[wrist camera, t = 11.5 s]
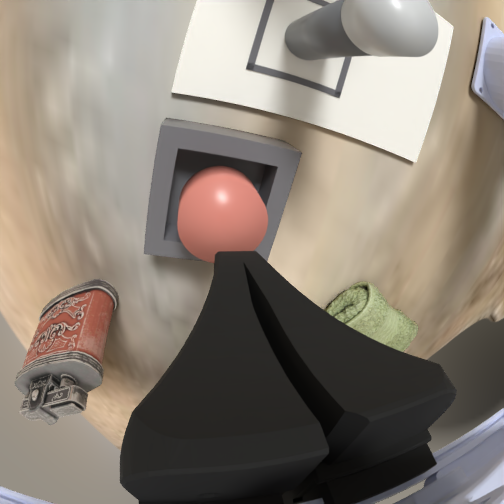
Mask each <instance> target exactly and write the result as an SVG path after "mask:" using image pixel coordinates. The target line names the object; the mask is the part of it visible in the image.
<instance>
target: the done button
mask: <svg viewBox="0 0 504 504" xmlns="http://www.w3.org/2000/svg"><path fill="white" fill-rule="evenodd" d="M267 226H268V214H267V210H266V207H265V204H264V203H263V201H262V199H261V197H260V196H259V194H258V192H257V190H256V189H255V187H254V185H253V184H252V182H251V181H250V179H249V178H248V177H247V176H246V175H245V174H243V173H242V172H240V171H239V170H237V169H234V168H231V167H227V166H213V167H208V168H205V169H203V170H200V171H199V172H197V173H195V174H194V175H193V176H192V177H191V178H190V179H189V180H188V181H187V182H186V183H185V185H184V187H183V188H182V191H181V193H180V197H179V208H178V221H177V227H178V234H179V237H180V239H181V241H182V243H183V245H184V246H185V248H186V249H187V250H188V251H189V252H190V253H191V254H193V255H194V256H196V257H197V258H199V259H202V260H204V261H207V262H212V263H214V260H215V254H216V253H217V252H218V251H254V250H255V249H256V248H257V247H258V246H259V244H260V243H261V241H262V240H263V238H264V236H265V234H266V231H267Z"/></svg>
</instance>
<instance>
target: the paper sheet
mask: <svg viewBox="0 0 504 504" xmlns="http://www.w3.org/2000/svg"><path fill="white" fill-rule="evenodd" d="M335 1H338V0H197V2H196V5H195V8H194V11H193V14H192V17H191V21H190V24H189V27H188V31H187V34H186V37H185V41H184V44H183V48H182V52H181V55H180V59H179V63H178V67H177V71H176V75H175V79H174V83H173V88H172V93H179V94H186V95H192V96H198V97H204V98H209V99H214V100H219V101H224V102H229V103H234V104H239V105H243V106H248V107H252V108H256V109H260V110H264V111H268V112H272V113H276V114H280V115H283V116H287V117H290V118H294V119H297V120H301V121H304V122H308V123H311V124H314V125H317V126H320V127H324V128H327V129H330V130H333V131H336V132H339V133H342V134H344V135H347V136H350V137H353V138H356V139H358V140H361V141H364V142H366V143H369V144H372V145H374V146H377V147H379V148H382V149H384V150H387V151H389V152H392V153H394V154H396V155H399V156H401V157H403V158H406V159H408V160H410V161H413V162H415V163H416V161H417V158H418V156H419V153H420V150H421V147H422V144H423V141H424V138H425V135H426V132H427V129H428V126H429V123H430V120H431V117H432V113H433V110H434V107H435V103H436V100H437V96H438V93H439V89H440V85H441V82H442V78H443V74H444V70H445V66H446V61H447V57H448V53H449V48H450V43H451V38H452V33H453V28H454V27H453V26H452V25H451V24H450V23H448V22H447V21H446V20H445V19H443V18H442V17H441V16H440V15H438V14H437V13H436V12H435V15H436V18H437V22H438V39H437V42H436V45H435V46H434V48H433V49H432V51H431V52H429V53H428V54H427V55H425V56H422V57H378V56H355V57H340V58H329V59H319V60H303V59H300V58H298V57H296V56H295V55H294V54H292V53H291V52H290V50H289V49H288V47H287V45H286V42H285V32H286V29H287V27H288V26H289V25H290V24H291V23H292V22H293V21H295V20H297V19H299V18H301V17H303V16H305V15H307V14H309V13H311V12H313V11H315V10H317V9H320V8H322V7H324V6H326V5H328V4H331V3H333V2H335Z"/></svg>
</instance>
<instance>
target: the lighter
mask: <svg viewBox="0 0 504 504" xmlns="http://www.w3.org/2000/svg"><path fill="white" fill-rule="evenodd" d="M117 301H118V293H117V291H116V289H115V288H114V287H113V286H112V285H111V284H110V283H109V282H107V281H105V280H101V279H94V280H91V281H88V282H84V283H81V284H78V285H76V286H73V287H71V288H69V289H67V290H65V291H63V292H61V293H60V294H59V295H57V296H56V297H54V298H53V299H52V300H51V301H50V302H49V303H48V304H47V305H46V306H45V307H44V308H43V310H42V312H41V315H40V317H39V321H40V323H39V325H38V327H37V330H36V332H35V335H34V337H33V340H32V342H31V345H30V348H29V350H28V353H27V356H26V359H25V362H24V365H23V367H22V369H21V370H20V371H19V372H18V374H17V377H16V380H15V386H16V387H17V388H18V390H19V391H20V392H22V393H23V394H24V395H26V396H25V398H24V399H23V401H22V404H21V409H20V414H21V415H23V416H24V417H26V418H27V419H29V420H40V419H41V420H43V421H45V422H46V423H48V424H49V425H52V424H55V423H56V422H57V420H58V418H59V417H63V416H68V415H73V414H78V413H81V412H82V411H84V410H85V409H86V403H87V397H88V394H87V392H89V391H91V390H93V389H95V388H96V387H98V386H100V385H101V384H102V379H103V372H104V369H103V367H102V360H103V355H104V349H105V344H106V339H107V334H108V330H109V325H110V320H111V316H112V312H113V311H114V310H115V309H116V305H117Z"/></svg>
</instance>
